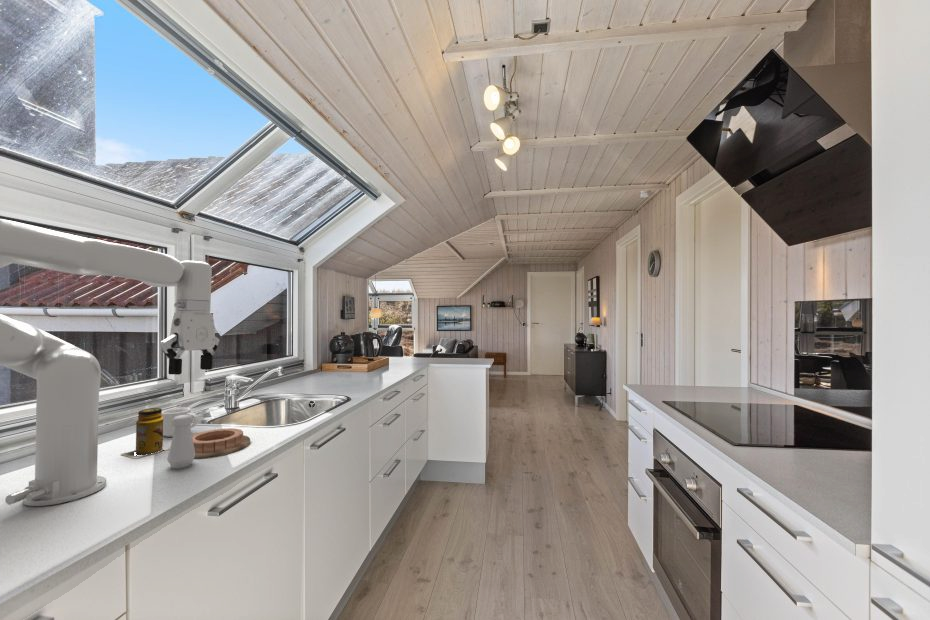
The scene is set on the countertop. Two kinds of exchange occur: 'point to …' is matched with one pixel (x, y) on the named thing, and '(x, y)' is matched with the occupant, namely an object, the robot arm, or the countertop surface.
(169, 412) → the cup
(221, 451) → the brick fire pit
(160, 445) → the condiment
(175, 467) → the salt shaker
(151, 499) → the countertop surface
